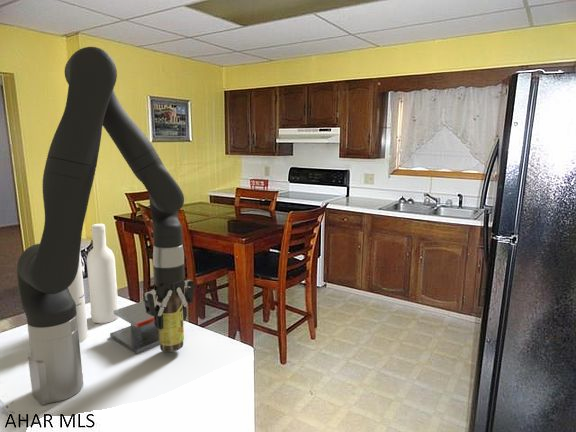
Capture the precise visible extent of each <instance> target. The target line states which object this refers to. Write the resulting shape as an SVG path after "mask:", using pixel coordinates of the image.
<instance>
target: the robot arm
mask: <svg viewBox="0 0 576 432" xmlns="http://www.w3.org/2000/svg"><path fill="white" fill-rule="evenodd" d="M65 63H66V64H65V66H64V77H65V78H64V79H65V81H66V83H67V84H68V88H67V94H66V95H67V96H66V103H65V107H64V109H63V110H64V111H63V113H62V116H61V118H60V121H59V122H58V125H57V128H56V130H55V132H54V134H53V138H52V141H51V143H50V146H49V149H48V153H47V156H46V161H45V166H44V168H43V169H44V170H43V175H42V198H43V199H42V200H43V209H44V223H43V224H44V226H43V231H42V234H41V238H40V242H39V243H36V244H32V245H30V246H29V247H27V248H26V249H24V250H23V252H22V253H21V255H20V256H19V258H18V260H17V265H16V273H17V274H16V276H17V282H18V290H19V296H20V300H21V301H20V302H21V306H22V309H23V312H24V314H25V318H26V324H27V331H28V332H27V333H28V341H29V348H30V353H28V354H27V359H28V367H29V368H28V369H29V376H30V377H29V379H30V384H31V385H30V386H31V392H32V395H33V396H34V398H36V400H37V401H38V402H39V403H40V404H41V405H42V406H45V405H48V404H51V403H57V402H62V401H64V400H68V399H69V398H71V397H73V396H75V395H77V394H78V393H79V392H80V391H81V390H82V389H83V387H84V374H83V366H82V365H83V364H82V356H81V354H82V353H81V345H80V343H81V342H80V343H79V333H78V322H77V311H76V304H75V301H74V300H73V298H72V296H71V294H70V292H69V289H68V287H69V286H70V285H71V284H72V283H73V281H74V279H75V277H76V275H77V272H78V267H79V257H80V252H81V247H82V246H81V243H82V236H83V227H84V223H85V219H86V215H87V210H88V206H89V201H90V195H91V191H92V188H93V184H94V179H95V175H96V169H97V165H98V160H99V153H100V147H101V141H102V131H103V128H104V129H105V131H106V132H107V134H108V135H109V137H110V138H111V140H112V142H113V143H114V144H115V146H116V148H117V149H118V151H119V152H120V154H121V156H122V158H123V159H124V160H125V162H126V164H127V165H128V167H129V168H130V170H131V171H132V173H133V174H134V176H135V178H137V179H138V180H139V181H140V182H141V183H142V184H143V186H144V188H145V189H146V191H147V193H148V194H149V197H148V198H149V210H150V215H151V220H152V229H153V230H152V231H153V232H152V236H153V237H152V238H153V239H152V240H153V250H152V251H153V252H152V259H153V260H152V261H153V262H152V263H153V264H152V265H153V281H154V288H153V289H151V290H150V291H144V292H143V293H142V296H143V301H144V303H145V309H146V313H147V314H150V315H151V316H154V325H155V326H156V327H157V328H158V329H163V315H162V313H163V310H164V308H165V307H166V306H167V302H168V300H169V298H170V296H171V294H172V290H169V284H174V283H176V285H177V287H176V289H175V290H176V293H177V294H178V295H179V297H180V298H181V300H182V303H183V322H184V321H186V318H187V317H188V312H187V311H188V309H187V307H188V306H189V304H191V303H193V302H194V295H195V281H194V280H193V279H190V278H186V279H185V277H186V275H185V271H186V270H185V251H184V245H183V244H184V242H183V241H184V240H183V239H184V238H183V237H184V236H183V226H182V223H181V222H180V220H179V211H180V210H181V209H182V207H183V206H184V203H185V196H184V193H183V190H182V189H181V187H180V185H179V183H177V182H176V180H175V179H174V177H173V176H172V175H171V173H170V172H169V171H168V169H167V168H166V167H165V165H164V163H163V161H162V159H161V158H160V156H159V154H158V153H157V150H156V149H155V148H154V146H153V144H152V142H151V141H150V140H149V138H148V137H147V135H146V134H145V133H144V132H143V131H142V129H141V128H140V127H139V126H138V125H137V124H136V122H134V121H133V119H132V118H131V117H130V116H129V115H128V113H127V112H126V111H125V109H124V108H123V106H122V104H121V103H120V101H119V99H118V97H117V96H116V93H115V89H114V88H115V86H116V83H117V78H118V71H117V66H116V63H115V61H114V59H113V58H112V57H111V55H110V54H109V53H107V51H105V50H104V49H102V48H100V47H97V46H86V47H82V48H79V49H78V50H76V51H75V52H74V53H73V54H72V55H70V57H69V59H68V60H67V61H66V62H65ZM184 279H185V280H184ZM183 290H184V292H183ZM155 296H156V297H155ZM154 299H155V305H154ZM159 299H161V300H163V302H162V303H160V302H159Z"/></svg>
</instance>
